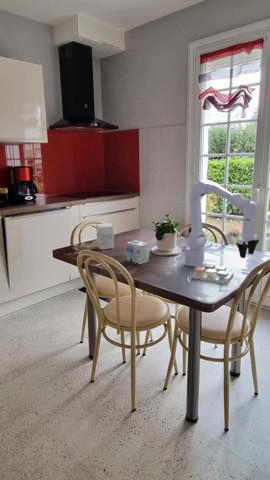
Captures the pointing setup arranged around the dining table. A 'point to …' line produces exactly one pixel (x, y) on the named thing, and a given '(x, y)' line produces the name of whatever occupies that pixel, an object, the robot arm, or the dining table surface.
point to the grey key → (209, 266)
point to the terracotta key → (199, 270)
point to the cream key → (211, 271)
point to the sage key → (220, 268)
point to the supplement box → (105, 236)
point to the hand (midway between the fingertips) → (246, 255)
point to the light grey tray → (213, 277)
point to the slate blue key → (223, 274)
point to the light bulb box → (138, 252)
